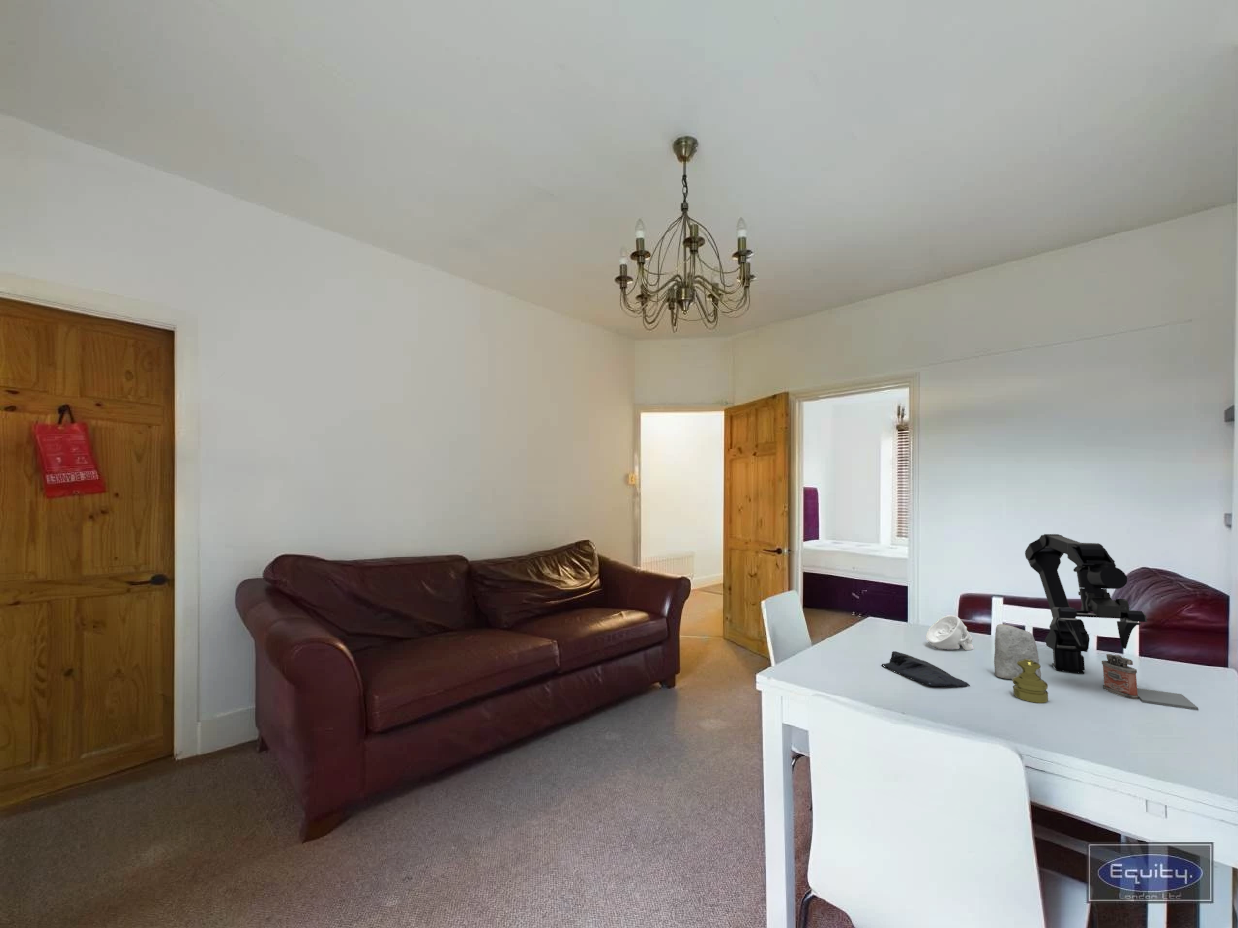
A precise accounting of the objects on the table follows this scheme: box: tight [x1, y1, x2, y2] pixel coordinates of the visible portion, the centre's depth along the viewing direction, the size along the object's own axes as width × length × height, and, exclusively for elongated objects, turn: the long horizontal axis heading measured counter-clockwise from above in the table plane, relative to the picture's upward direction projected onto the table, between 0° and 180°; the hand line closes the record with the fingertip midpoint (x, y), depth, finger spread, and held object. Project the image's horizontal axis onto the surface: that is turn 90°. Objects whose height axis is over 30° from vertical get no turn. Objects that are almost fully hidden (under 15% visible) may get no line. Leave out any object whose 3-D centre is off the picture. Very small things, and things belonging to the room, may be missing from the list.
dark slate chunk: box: [881, 650, 971, 688], centre depth 154 cm, size 15×22×5 cm
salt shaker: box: [1011, 659, 1049, 704], centre depth 137 cm, size 7×7×10 cm
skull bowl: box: [925, 614, 975, 651], centre depth 180 cm, size 10×14×12 cm
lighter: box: [1101, 653, 1140, 701], centre depth 138 cm, size 8×3×10 cm, turn 5°
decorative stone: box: [993, 623, 1042, 680], centre depth 151 cm, size 11×6×15 cm, turn 65°
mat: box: [1137, 687, 1199, 711], centre depth 134 cm, size 10×10×1 cm
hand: (1102, 647), depth 140 cm, fingers open, 9 cm apart
